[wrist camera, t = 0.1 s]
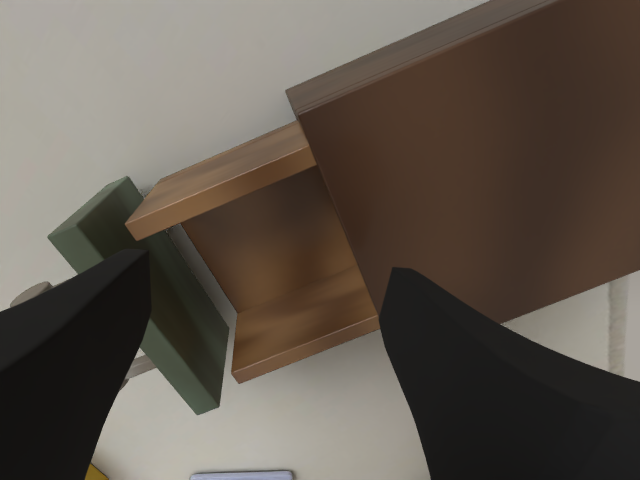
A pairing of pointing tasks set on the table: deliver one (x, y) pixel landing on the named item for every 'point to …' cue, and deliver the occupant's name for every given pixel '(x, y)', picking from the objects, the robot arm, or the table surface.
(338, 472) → the table surface
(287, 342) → the drawer
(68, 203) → the table surface
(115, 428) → the table surface
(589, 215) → the cabinet
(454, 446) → the robot arm
